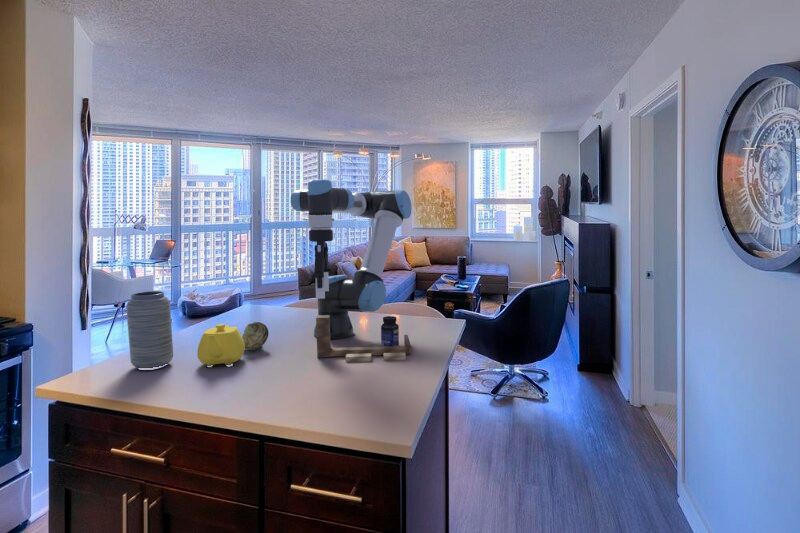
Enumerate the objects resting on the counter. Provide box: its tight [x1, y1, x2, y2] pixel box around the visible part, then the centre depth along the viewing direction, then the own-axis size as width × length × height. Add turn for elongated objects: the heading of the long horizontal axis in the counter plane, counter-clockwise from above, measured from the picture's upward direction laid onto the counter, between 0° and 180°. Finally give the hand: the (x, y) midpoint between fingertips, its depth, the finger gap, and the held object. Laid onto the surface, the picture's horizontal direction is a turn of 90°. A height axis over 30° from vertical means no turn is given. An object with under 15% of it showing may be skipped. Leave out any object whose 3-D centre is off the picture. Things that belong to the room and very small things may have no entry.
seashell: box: [241, 321, 270, 351], centre depth 154 cm, size 11×11×10 cm
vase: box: [125, 290, 174, 369], centre depth 136 cm, size 12×12×23 cm
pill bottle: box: [380, 315, 400, 347], centre depth 153 cm, size 6×6×11 cm
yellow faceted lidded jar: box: [196, 323, 246, 366], centre depth 138 cm, size 13×20×12 cm
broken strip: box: [345, 352, 407, 363], centre depth 141 cm, size 19×3×2 cm, turn 94°
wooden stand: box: [315, 314, 412, 358], centre depth 150 cm, size 31×14×13 cm, turn 94°
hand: (322, 294), depth 143 cm, fingers open, 13 cm apart
